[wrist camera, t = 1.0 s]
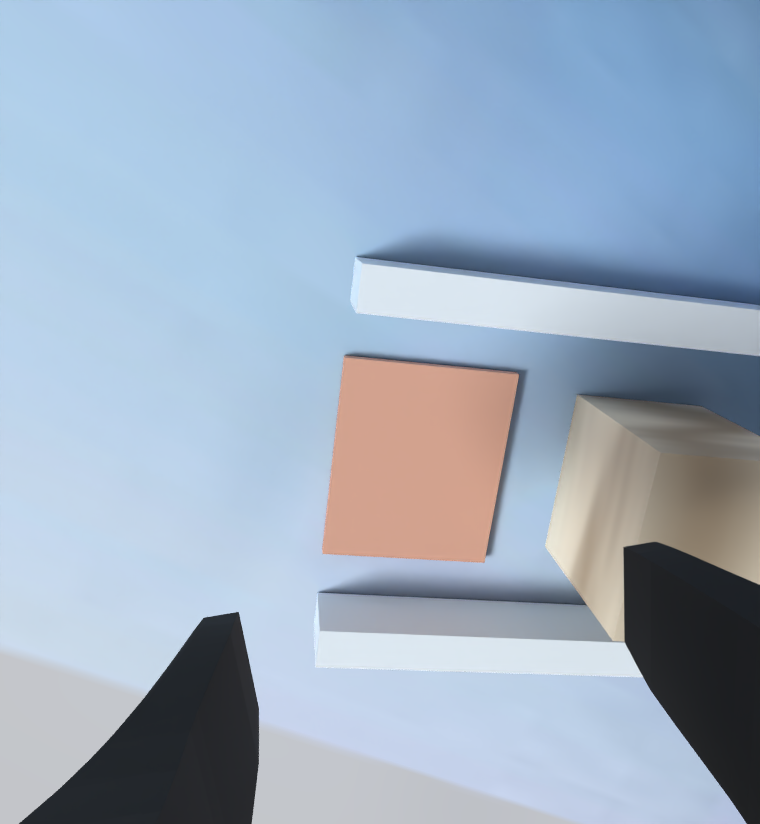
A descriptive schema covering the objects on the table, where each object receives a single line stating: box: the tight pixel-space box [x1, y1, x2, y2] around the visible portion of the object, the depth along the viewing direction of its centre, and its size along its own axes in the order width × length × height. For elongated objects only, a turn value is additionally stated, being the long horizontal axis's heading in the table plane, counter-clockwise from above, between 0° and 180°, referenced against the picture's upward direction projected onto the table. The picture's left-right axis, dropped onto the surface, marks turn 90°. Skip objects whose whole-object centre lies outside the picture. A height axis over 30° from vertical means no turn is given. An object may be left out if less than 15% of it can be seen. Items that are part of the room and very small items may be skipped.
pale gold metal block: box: [545, 394, 760, 642], centre depth 19 cm, size 4×5×5 cm
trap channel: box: [314, 257, 760, 677], centre depth 20 cm, size 16×11×2 cm
